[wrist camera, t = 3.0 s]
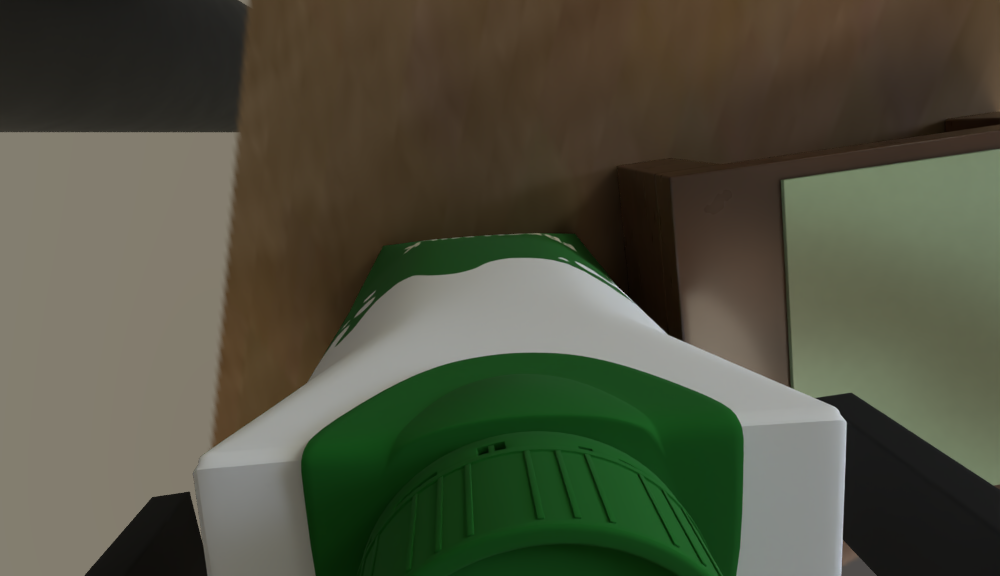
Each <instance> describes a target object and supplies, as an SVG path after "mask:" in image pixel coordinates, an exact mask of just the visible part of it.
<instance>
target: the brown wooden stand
mask: <svg viewBox="0 0 1000 576" xmlns="http://www.w3.org/2000/svg"><path fill="white" fill-rule="evenodd" d="M617 173H618V184H619V194H620V204H621V214H622V224H623V234H624V244H625V254H626V264H627V274H628V284H629V294H630V299H631V300H632V301H633V302H634V303H635V304H636V305H637V306H638V307H639V308H640V309H641V310H643V311H644V312H645V313H646V314H647V315H648V316H649V317H650V318H651V319H652V320H653V321H654V322H655V323H656V324H657V325H658V326H659V327H660V328H661V329H662V330H664V331H665V332H666V333H667V334H668V335H669V336H672V337H674V338H676V339H679V340H681V341H683V342H686V343H688V344H690V345H693V346H695V347H697V348H699V349H702V350H704V351H706V352H709V353H711V354H713V355H716V356H718V357H720V358H723V359H725V360H727V361H729V362H732V363H734V364H736V365H739V366H741V367H743V368H746V369H748V370H750V371H753V372H755V373H757V374H760V375H762V376H764V377H767V378H769V379H771V380H773V381H776V382H778V383H780V384H783V385H785V386H787V387H790V388H792V389H794V390H797V391H799V392H801V393H804V394H806V395H808V396H811V397H813V398H815V399H816V398H818V397H825V396H831V395H838V394H845V393H853V394H855V395H856V396H858V397H859V398H861V399H862V400H864V401H865V402H867V403H868V404H870V405H871V406H873V407H874V408H876V409H877V410H879V411H880V412H882V413H884V414H885V415H887V416H888V417H890V418H891V419H893V420H894V421H896V422H897V423H899V424H900V425H902V426H903V427H905V428H906V429H908V430H909V431H911V432H913V433H914V434H916V435H917V436H919V437H920V438H922V439H923V440H925V441H926V442H928V443H929V444H931V445H932V446H934V447H935V448H937V449H938V450H940V451H942V452H943V453H945V454H946V455H948V456H949V457H951V458H952V459H954V460H955V461H957V462H958V463H960V464H961V465H963V466H964V467H966V468H967V469H969V470H971V471H972V472H974V473H975V474H977V475H978V476H980V477H981V478H983V479H984V480H986V481H987V482H989V483H990V484H992V485H993V486H995V487H996V488H998V489H1000V112H992V113H985V114H978V115H971V116H964V117H957V118H950V119H947V120H946V121H945V132H944V133H937V134H930V135H923V136H916V137H909V138H902V139H895V140H888V141H881V142H874V143H867V144H860V145H853V146H846V147H839V148H832V149H825V150H818V151H811V152H804V153H797V154H790V155H783V156H776V157H769V158H762V159H755V160H748V161H742V162H735V163H728V164H714V163H706V162H698V161H689V160H681V159H673V158H668V159H661V160H654V161H647V162H640V163H633V164H626V165H619V166H617Z"/></svg>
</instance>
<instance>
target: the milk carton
mask: <svg viewBox="0 0 1000 576" xmlns="http://www.w3.org/2000/svg"><path fill="white" fill-rule="evenodd" d="M846 427H847V422H846V421H845V419H844V418H843V417H842V416H841V415H840V412H839V410H838V409H837V408H836V407H834V406H832V405H830V404H827V403H825V402H823V401H820V400H818V399H815V398H813V397H811V396H808V395H806V394H804V393H801V392H799V391H797V390H794V389H792V388H790V387H787V386H785V385H783V384H780V383H778V382H776V381H773V380H771V379H769V378H767V377H764V376H762V375H760V374H757V373H755V372H753V371H750V370H748V369H746V368H743V367H741V366H739V365H736V364H734V363H732V362H729V361H727V360H725V359H723V358H720V357H718V356H716V355H713V354H711V353H709V352H706V351H704V350H702V349H699V348H697V347H695V346H693V345H690V344H688V343H686V342H683V341H681V340H679V339H676V338H674V337H672V336H669V335H668V334H667V333H666V332H665V331H664V330H662V329H661V328H660V327H659V326H658V325H657V324H656V323H655V322H654V321H653V320H652V319H651V318H650V317H649V316H648V315H647V314H646V313H645V312H644V311H643V310H641V309H640V308H639V307H638V306H637V305H636V304H635V303H634V302H633V301H632V300H631V299H630V298H629V297H628V296H627V295H626V294H625V293H624V292H623V291H622V290H621V289H620V288H619V287H618V286H617V285H616V284H615V283H614V281H613V280H612V279H611V278H610V276H609V275H608V274H607V273H606V271H605V270H604V269H603V268H602V266H601V265H600V264H599V263H598V261H597V260H596V259H595V258H594V257H593V255H592V254H591V253H590V252H589V250H588V249H587V248H586V247H585V246H584V244H583V243H582V242H581V241H580V239H579V238H578V237H577V235H576V234H557V233H526V234H503V235H483V236H470V237H457V238H446V239H434V240H425V241H417V242H409V243H402V244H395V245H386V246H383V247H382V250H381V252H380V253H379V255H378V257H377V259H376V261H375V263H374V265H373V267H372V269H371V271H370V273H369V275H368V277H367V278H366V280H365V282H364V284H363V286H362V288H361V290H360V292H359V294H358V296H357V298H356V300H355V302H354V304H353V306H352V308H351V310H350V312H349V314H348V316H347V317H346V319H345V321H344V322H343V324H342V326H341V327H340V329H339V331H338V332H337V334H336V336H335V337H334V339H333V341H332V342H331V344H330V346H329V347H328V349H327V351H326V352H325V354H324V356H323V357H322V359H321V361H320V362H319V364H318V366H317V367H316V369H315V371H314V372H313V374H312V376H311V377H310V379H309V381H308V382H307V383H306V384H305V385H304V386H302V387H301V388H299V389H298V390H296V391H295V392H293V393H292V394H291V395H289V396H288V397H286V398H285V399H283V400H282V401H280V402H279V403H278V404H276V405H275V406H273V407H272V408H270V409H269V410H267V411H266V412H264V413H263V414H262V415H260V416H259V417H257V418H256V419H254V420H253V421H251V422H250V423H248V424H247V425H245V426H244V427H242V428H241V429H239V430H238V431H237V432H235V433H234V434H232V435H231V436H229V437H228V438H226V439H225V440H223V441H222V442H220V443H219V444H218V445H216V446H215V447H213V448H212V449H210V450H209V451H207V452H206V453H205V454H203V455H202V456H201V457H200V458H199V464H198V466H197V467H196V469H195V470H194V472H193V478H194V484H195V491H196V499H197V505H198V513H199V519H200V526H201V533H202V540H203V547H204V554H205V561H206V568H207V575H208V576H841V567H842V541H843V515H844V489H845V463H846Z"/></svg>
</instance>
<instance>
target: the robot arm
mask: <svg viewBox="0 0 1000 576" xmlns="http://www.w3.org/2000/svg"><path fill="white" fill-rule="evenodd" d="M816 399H818V400H820V401H823V402H825V403H827V404H830V405H832V406H834V407H836V408H837V409H838V410H839V412H840V415H841V416H842V417H843V418H844V419H845V421H846V422H847V427H846V463H845V489H844V515H843V540H844V541H845V542H846V543H847V544H848V545H849V547H850V548H851V549H852V550H853V551H854V552H855V553H856V554H857V555H858V556H859V557H860V558H861V559H862V560H863V561H864V562H865V563H866V564H867V566H868V567H869V568H870V569H871V570H872V571H873V572H874V573H875V574H876V575H877V576H1000V489H998V488H996V487H995V486H993V485H992V484H990V483H989V482H987V481H986V480H984V479H983V478H981V477H980V476H978V475H977V474H975V473H974V472H972V471H971V470H969V469H967V468H966V467H964V466H963V465H961V464H960V463H958V462H957V461H955V460H954V459H952V458H951V457H949V456H948V455H946V454H945V453H943V452H942V451H940V450H938V449H937V448H935V447H934V446H932V445H931V444H929V443H928V442H926V441H925V440H923V439H922V438H920V437H919V436H917V435H916V434H914V433H913V432H911V431H909V430H908V429H906V428H905V427H903V426H902V425H900V424H899V423H897V422H896V421H894V420H893V419H891V418H890V417H888V416H887V415H885V414H884V413H882V412H880V411H879V410H877V409H876V408H874V407H873V406H871V405H870V404H868V403H867V402H865V401H864V400H862V399H861V398H859V397H858V396H856V395H855V394H853V393H845V394H838V395H831V396H825V397H818V398H816ZM85 576H208V575H207V568H206V561H205V554H204V547H203V543H202V539H201V535H200V532H199V528H198V524H197V520H196V516H195V512H194V508H193V504H192V500H191V496H190V492H184V493H178V494H171V495H164V496H158V497H152V498H151V499H150V500H149V502H148V503H147V504H146V505H145V506H144V507H143V509H142V510H141V511H140V512H139V513H138V514H137V515H136V517H135V518H134V519H133V520H132V521H131V522H130V524H129V525H128V526H127V527H126V528H125V529H124V531H123V532H122V533H121V534H120V535H119V536H118V538H117V539H116V540H115V541H114V542H113V543H112V544H111V546H110V547H109V548H108V549H107V550H106V551H105V552H104V554H103V555H102V556H101V557H100V558H99V559H98V561H97V562H96V563H95V564H94V565H93V566H92V568H91V569H90V570H89V571H88V572H87V573H86V575H85Z"/></svg>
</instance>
